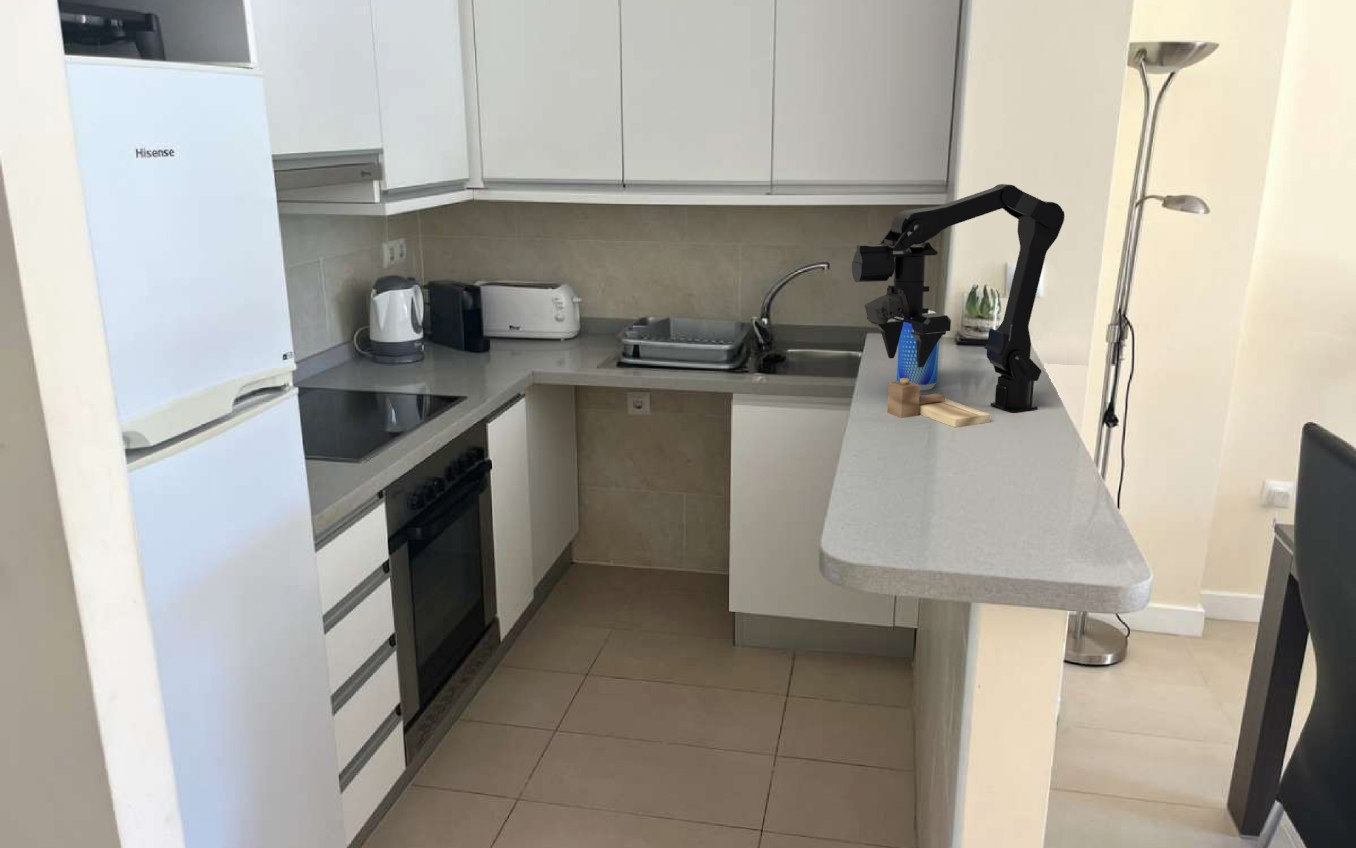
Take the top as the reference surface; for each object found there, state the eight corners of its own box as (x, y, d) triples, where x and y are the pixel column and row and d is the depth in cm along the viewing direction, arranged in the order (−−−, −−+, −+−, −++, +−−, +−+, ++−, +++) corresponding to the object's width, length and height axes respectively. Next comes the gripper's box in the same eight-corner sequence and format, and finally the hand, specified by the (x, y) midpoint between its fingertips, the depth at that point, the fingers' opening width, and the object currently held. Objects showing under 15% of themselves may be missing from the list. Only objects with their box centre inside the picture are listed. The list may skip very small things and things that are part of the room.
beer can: (893, 389, 211) (896, 314, 207) (900, 380, 219) (903, 308, 214) (933, 392, 208) (937, 316, 204) (939, 383, 215) (943, 310, 211)
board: (935, 402, 200) (936, 395, 199) (989, 422, 186) (990, 414, 185) (902, 407, 197) (902, 400, 196) (954, 427, 183) (955, 419, 182)
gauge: (933, 406, 198) (935, 371, 196) (948, 411, 194) (950, 376, 192) (887, 412, 193) (888, 377, 191) (901, 418, 190) (902, 382, 188)
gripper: (844, 277, 190) (842, 358, 195) (903, 289, 174) (899, 377, 178) (893, 273, 195) (890, 352, 199) (955, 284, 178) (950, 370, 182)
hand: (905, 362), depth 189 cm, fingers open, 9 cm apart
